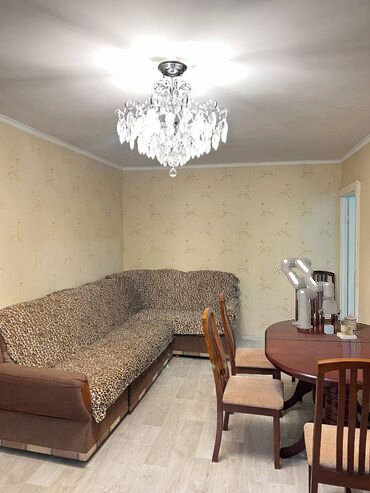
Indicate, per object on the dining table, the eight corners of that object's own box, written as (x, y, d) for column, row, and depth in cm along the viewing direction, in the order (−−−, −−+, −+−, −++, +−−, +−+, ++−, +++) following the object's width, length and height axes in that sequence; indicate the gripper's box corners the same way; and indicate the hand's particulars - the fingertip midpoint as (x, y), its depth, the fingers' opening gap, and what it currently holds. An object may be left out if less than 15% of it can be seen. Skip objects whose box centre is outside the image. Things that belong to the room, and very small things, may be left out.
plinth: (342, 339, 260) (342, 336, 260) (337, 335, 270) (337, 332, 270) (356, 338, 260) (356, 336, 260) (350, 335, 270) (350, 332, 270)
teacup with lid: (357, 329, 288) (357, 314, 288) (355, 331, 281) (355, 316, 280) (341, 327, 295) (341, 312, 295) (338, 329, 288) (338, 314, 287)
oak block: (344, 335, 262) (344, 327, 262) (340, 333, 268) (340, 325, 268) (352, 335, 262) (352, 327, 262) (349, 333, 268) (349, 325, 268)
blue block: (326, 334, 274) (326, 326, 274) (324, 332, 279) (324, 324, 279) (333, 334, 274) (333, 326, 274) (331, 332, 279) (331, 324, 279)
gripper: (319, 299, 272) (320, 322, 272) (342, 299, 272) (343, 322, 272) (315, 298, 280) (316, 320, 280) (338, 297, 279) (339, 320, 279)
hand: (330, 321), depth 276 cm, fingers open, 9 cm apart
